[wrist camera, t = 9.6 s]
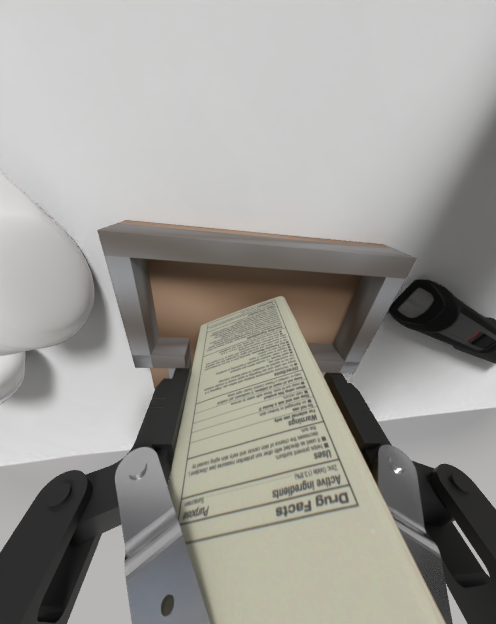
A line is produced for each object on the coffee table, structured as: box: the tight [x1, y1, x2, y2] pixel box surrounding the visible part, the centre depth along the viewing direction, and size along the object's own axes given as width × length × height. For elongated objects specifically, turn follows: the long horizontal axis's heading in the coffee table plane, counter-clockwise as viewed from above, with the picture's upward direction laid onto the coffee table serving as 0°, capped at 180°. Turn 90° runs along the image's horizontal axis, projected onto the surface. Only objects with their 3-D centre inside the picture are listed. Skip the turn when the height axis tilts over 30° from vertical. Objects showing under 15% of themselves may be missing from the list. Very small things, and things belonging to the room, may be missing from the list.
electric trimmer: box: [389, 280, 496, 363], centre depth 17 cm, size 4×16×3 cm, turn 63°
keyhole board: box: [98, 220, 417, 389], centre depth 16 cm, size 18×16×3 cm
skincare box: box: [164, 296, 446, 624], centre depth 10 cm, size 6×4×12 cm
